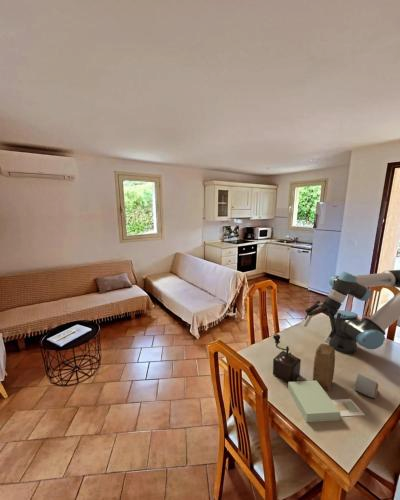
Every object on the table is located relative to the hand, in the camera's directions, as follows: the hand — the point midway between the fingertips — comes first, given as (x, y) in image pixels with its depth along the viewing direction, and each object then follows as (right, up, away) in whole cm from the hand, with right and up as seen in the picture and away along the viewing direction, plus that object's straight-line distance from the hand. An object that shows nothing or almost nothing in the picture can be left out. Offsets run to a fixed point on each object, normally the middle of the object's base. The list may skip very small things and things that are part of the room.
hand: (314, 333), depth 119 cm
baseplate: (-12, -24, -20) cm, 33 cm away
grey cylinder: (+17, -22, -14) cm, 31 cm away
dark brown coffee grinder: (-18, -21, -1) cm, 27 cm away
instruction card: (+2, -24, -22) cm, 33 cm away
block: (0, -22, -9) cm, 23 cm away
